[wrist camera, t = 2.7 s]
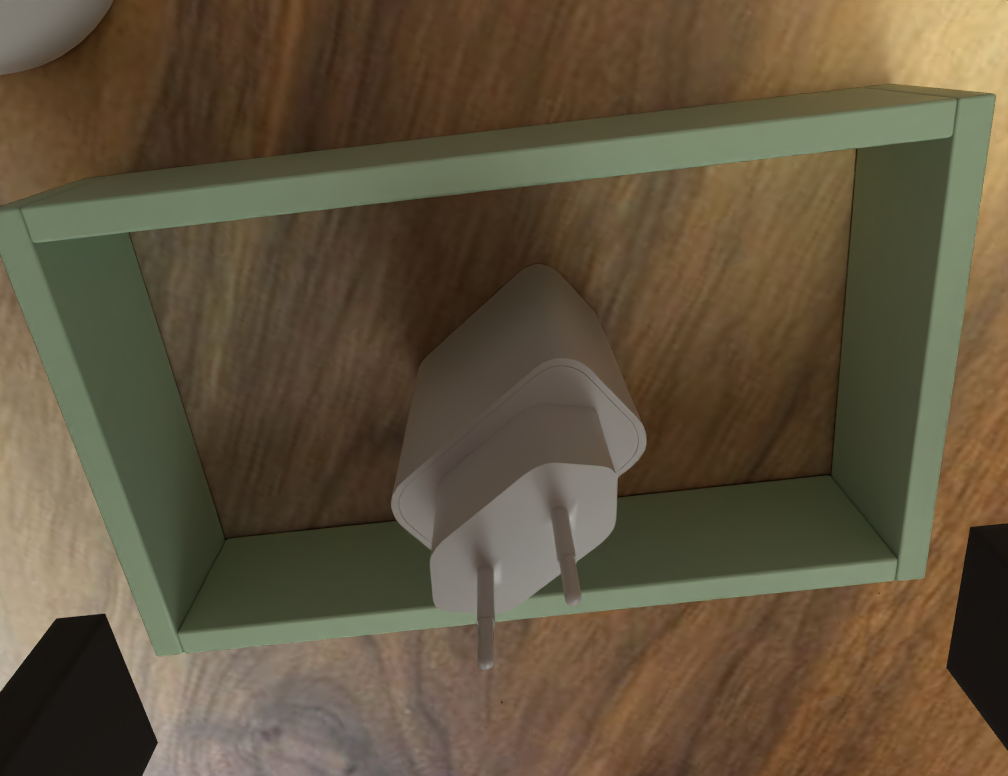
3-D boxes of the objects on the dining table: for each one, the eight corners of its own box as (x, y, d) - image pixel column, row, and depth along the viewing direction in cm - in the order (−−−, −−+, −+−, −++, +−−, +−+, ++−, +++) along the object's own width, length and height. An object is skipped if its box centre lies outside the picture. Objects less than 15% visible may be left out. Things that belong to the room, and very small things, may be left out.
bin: (82, 178, 20) (-19, 212, 16) (892, 83, 20) (998, 93, 16) (208, 559, 26) (155, 657, 21) (853, 491, 25) (925, 579, 21)
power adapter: (610, 327, 22) (729, 595, 12) (478, 440, 24) (472, 772, 13) (540, 252, 22) (598, 467, 11) (406, 374, 23) (335, 672, 12)
